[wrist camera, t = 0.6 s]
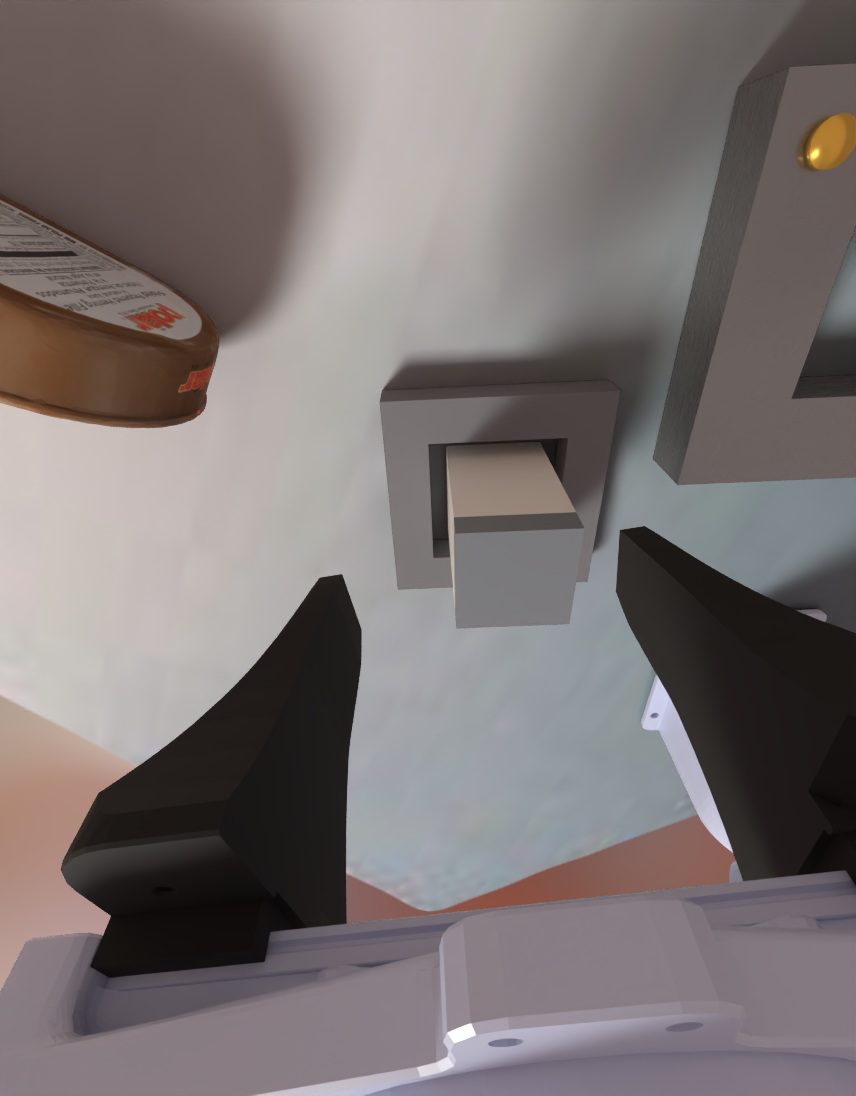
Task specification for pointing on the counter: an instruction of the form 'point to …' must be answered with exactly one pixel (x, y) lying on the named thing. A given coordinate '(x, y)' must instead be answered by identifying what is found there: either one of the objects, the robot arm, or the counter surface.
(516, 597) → the plug
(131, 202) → the counter surface
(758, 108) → the port block
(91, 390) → the tin
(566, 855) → the counter surface
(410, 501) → the gray square frame
